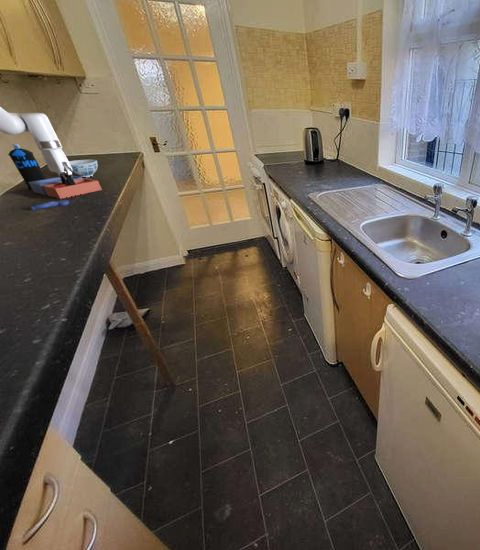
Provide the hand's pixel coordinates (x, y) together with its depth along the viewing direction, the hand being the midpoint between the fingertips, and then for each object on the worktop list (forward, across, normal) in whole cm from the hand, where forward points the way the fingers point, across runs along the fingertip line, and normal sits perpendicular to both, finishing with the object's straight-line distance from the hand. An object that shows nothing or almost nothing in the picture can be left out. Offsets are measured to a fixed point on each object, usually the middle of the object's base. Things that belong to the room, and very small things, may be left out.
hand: (71, 187), depth 138 cm
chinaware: (+3, -32, +21) cm, 38 cm away
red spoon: (0, 0, +1) cm, 1 cm away
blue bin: (+3, -13, +1) cm, 13 cm away
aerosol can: (+3, -26, -2) cm, 26 cm away
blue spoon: (+3, +15, -14) cm, 21 cm away
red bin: (+3, 0, +1) cm, 3 cm away
